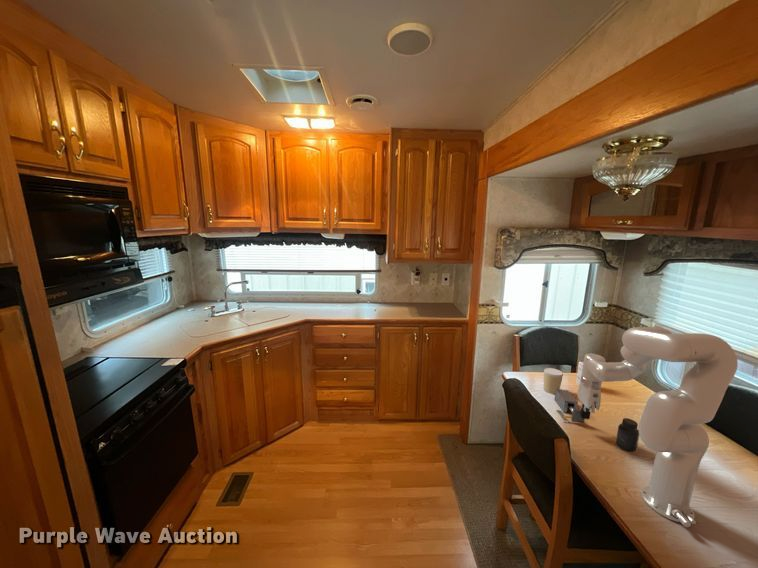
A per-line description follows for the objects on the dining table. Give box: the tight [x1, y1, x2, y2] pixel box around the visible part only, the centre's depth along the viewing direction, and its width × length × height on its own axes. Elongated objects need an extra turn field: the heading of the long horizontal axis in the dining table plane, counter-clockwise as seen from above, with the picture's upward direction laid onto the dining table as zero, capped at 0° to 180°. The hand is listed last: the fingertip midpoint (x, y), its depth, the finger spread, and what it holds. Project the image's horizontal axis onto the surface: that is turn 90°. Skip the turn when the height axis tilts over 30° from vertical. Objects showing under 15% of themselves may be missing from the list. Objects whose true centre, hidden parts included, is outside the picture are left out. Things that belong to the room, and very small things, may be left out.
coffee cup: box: [543, 367, 564, 395], centre depth 164 cm, size 9×9×12 cm
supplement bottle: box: [615, 417, 640, 453], centre depth 121 cm, size 7×7×12 cm
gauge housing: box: [554, 389, 579, 424], centre depth 146 cm, size 20×9×6 cm, turn 169°
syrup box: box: [575, 361, 584, 386], centre depth 169 cm, size 6×6×14 cm
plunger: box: [564, 403, 585, 424], centre depth 142 cm, size 11×8×6 cm
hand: (584, 417), depth 131 cm, fingers closed
